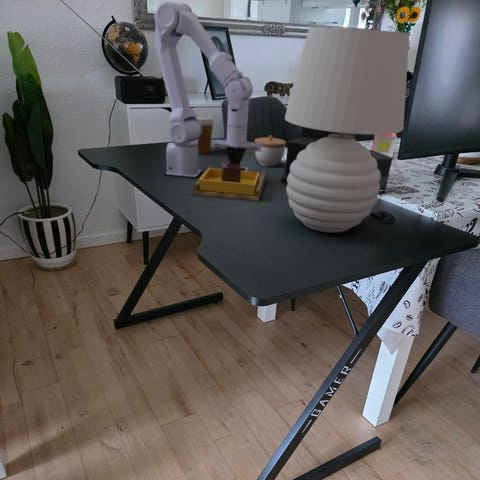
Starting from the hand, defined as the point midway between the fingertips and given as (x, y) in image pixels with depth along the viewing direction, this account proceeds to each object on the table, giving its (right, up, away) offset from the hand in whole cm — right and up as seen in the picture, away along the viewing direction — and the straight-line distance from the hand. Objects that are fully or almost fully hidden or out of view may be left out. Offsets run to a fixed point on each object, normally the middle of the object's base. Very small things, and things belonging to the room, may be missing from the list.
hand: (234, 174), depth 134 cm
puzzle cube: (+58, +22, +46) cm, 78 cm away
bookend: (+25, +3, +11) cm, 27 cm away
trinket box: (+11, +11, +23) cm, 28 cm away
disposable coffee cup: (-13, +18, +32) cm, 39 cm away
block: (-1, -5, -7) cm, 9 cm away
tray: (-1, -4, -4) cm, 6 cm away
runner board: (-1, -5, -3) cm, 5 cm away
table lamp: (+22, -21, -25) cm, 39 cm away
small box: (+40, -4, +3) cm, 41 cm away
